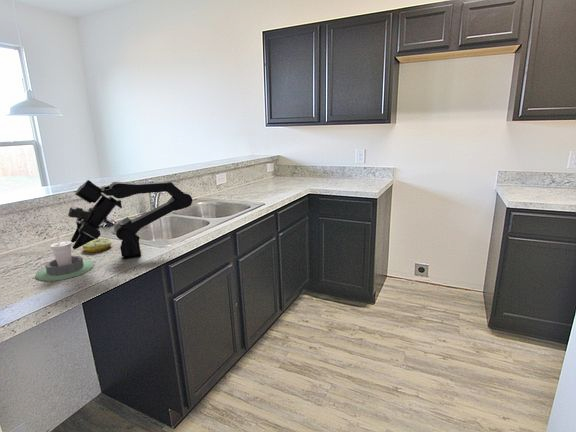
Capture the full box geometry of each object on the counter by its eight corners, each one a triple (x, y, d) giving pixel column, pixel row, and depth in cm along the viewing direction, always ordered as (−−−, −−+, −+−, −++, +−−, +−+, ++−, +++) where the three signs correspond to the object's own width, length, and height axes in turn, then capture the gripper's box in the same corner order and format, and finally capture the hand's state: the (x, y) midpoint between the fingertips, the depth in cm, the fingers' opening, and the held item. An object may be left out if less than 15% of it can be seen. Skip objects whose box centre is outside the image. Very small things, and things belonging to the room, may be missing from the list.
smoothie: (52, 270, 121) (44, 233, 118) (70, 264, 127) (63, 228, 123) (60, 274, 118) (52, 236, 114) (79, 267, 123) (72, 231, 120)
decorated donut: (117, 246, 147) (116, 237, 146) (96, 254, 137) (94, 246, 136) (100, 243, 151) (98, 235, 150) (78, 251, 141) (76, 243, 140)
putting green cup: (97, 257, 134) (95, 249, 133) (90, 275, 118) (88, 266, 117) (43, 265, 127) (41, 257, 126) (28, 285, 111) (26, 275, 110)
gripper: (78, 194, 128) (49, 227, 125) (82, 202, 113) (50, 240, 110) (105, 210, 134) (78, 242, 131) (112, 220, 120) (83, 256, 116)
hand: (72, 245), depth 122 cm, fingers open, 9 cm apart
